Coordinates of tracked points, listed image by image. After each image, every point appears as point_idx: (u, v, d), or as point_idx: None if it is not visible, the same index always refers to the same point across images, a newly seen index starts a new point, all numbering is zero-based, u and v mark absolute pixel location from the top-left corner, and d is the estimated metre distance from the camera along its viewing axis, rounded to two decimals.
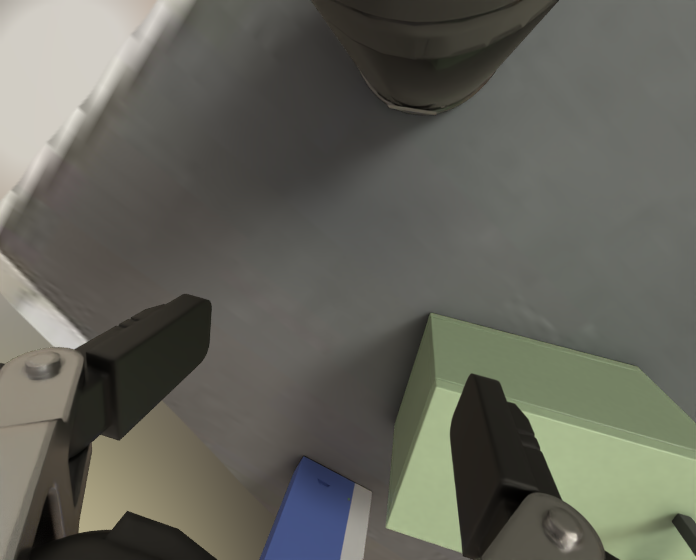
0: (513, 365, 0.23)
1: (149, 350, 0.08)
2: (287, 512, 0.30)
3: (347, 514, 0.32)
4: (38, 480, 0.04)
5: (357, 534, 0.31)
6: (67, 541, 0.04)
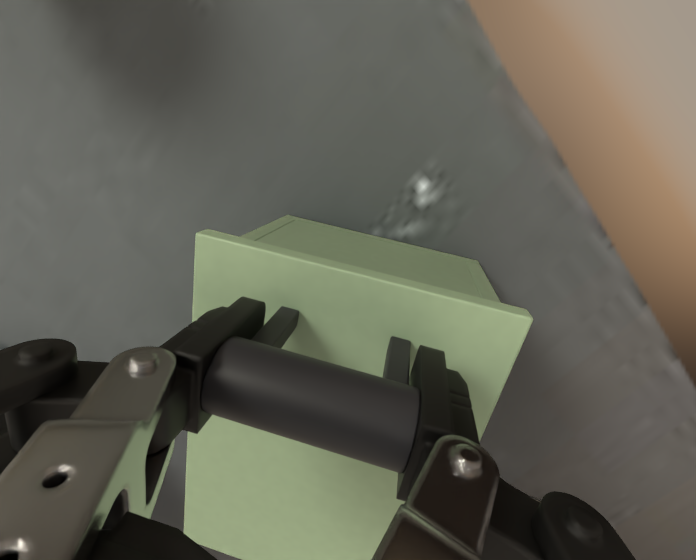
0: None
1: None
2: None
3: None
4: (108, 483, 0.04)
5: None
6: (122, 552, 0.04)
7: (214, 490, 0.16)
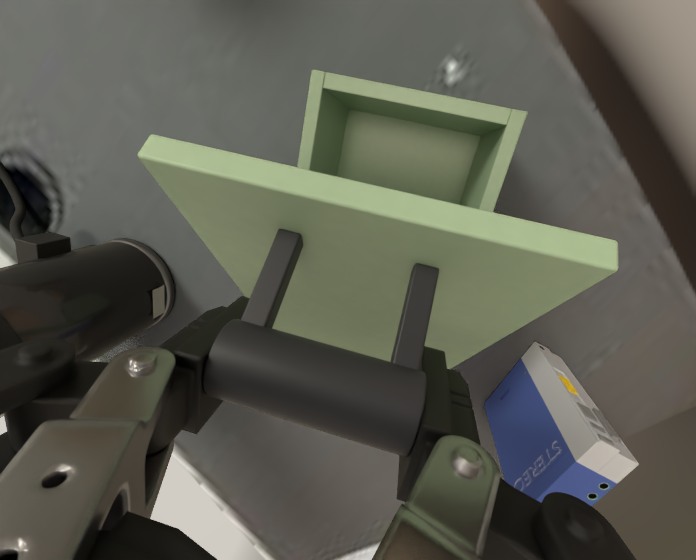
0: None
1: None
2: (499, 447, 0.28)
3: (531, 381, 0.28)
4: (107, 484, 0.04)
5: (547, 378, 0.27)
6: (122, 552, 0.04)
7: (279, 315, 0.20)
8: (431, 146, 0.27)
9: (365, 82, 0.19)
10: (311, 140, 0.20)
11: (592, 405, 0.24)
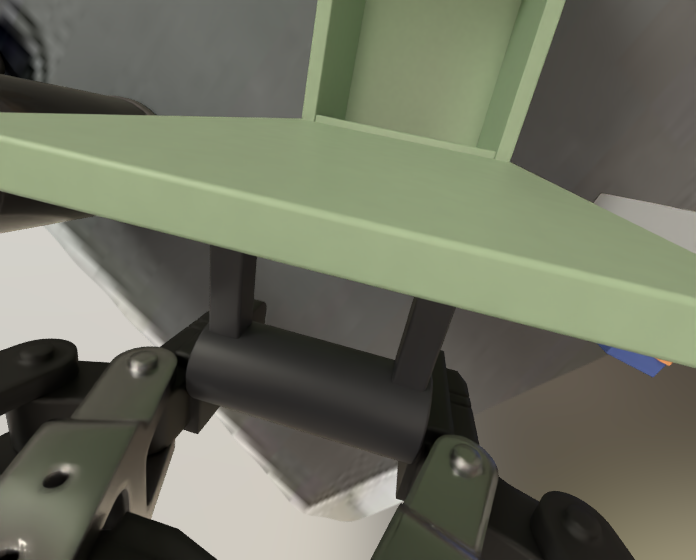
0: None
1: None
2: None
3: None
4: (108, 483, 0.04)
5: (628, 212, 0.22)
6: (123, 553, 0.04)
7: None
8: None
9: None
10: None
11: None
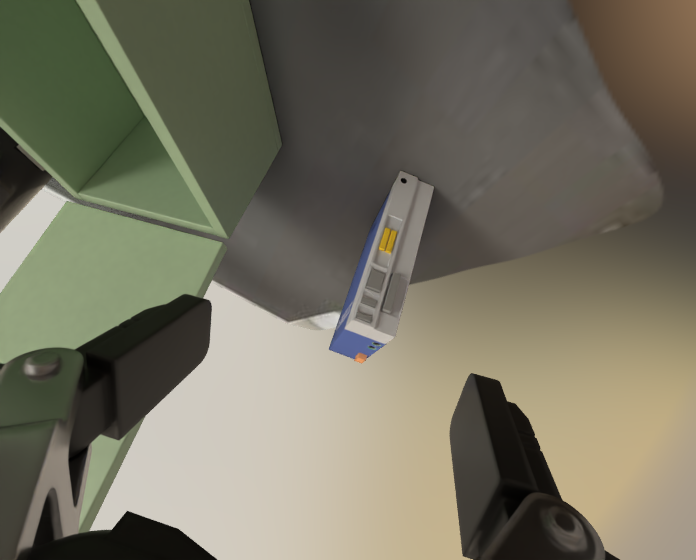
0: None
1: (149, 350, 0.08)
2: (352, 282, 0.29)
3: (379, 224, 0.25)
4: (38, 480, 0.04)
5: (379, 228, 0.23)
6: (67, 541, 0.04)
7: None
8: None
9: None
10: None
11: (407, 263, 0.22)
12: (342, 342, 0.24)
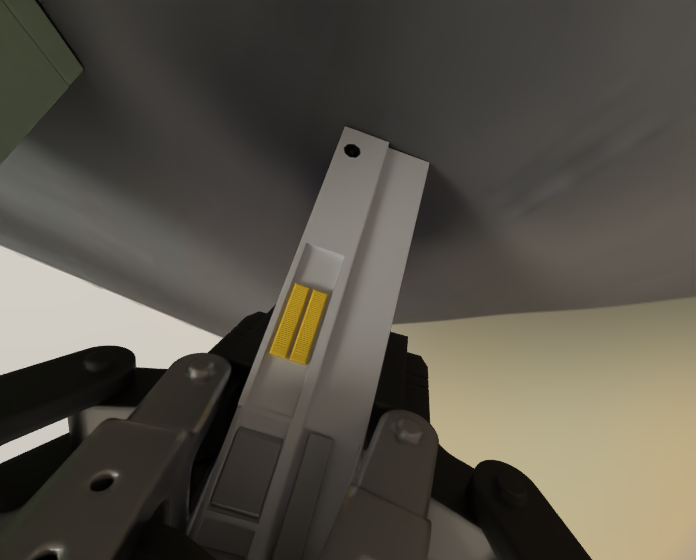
0: None
1: None
2: None
3: None
4: (149, 495, 0.04)
5: None
6: None
7: None
8: None
9: None
10: None
11: (356, 389, 0.08)
12: None
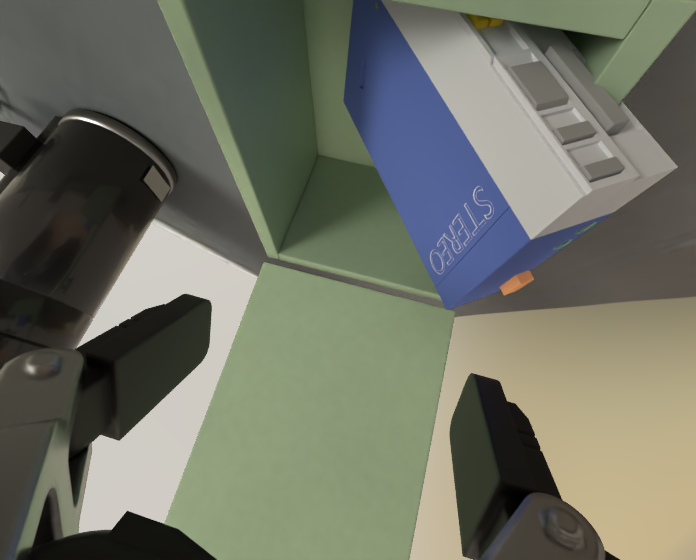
0: None
1: (149, 350, 0.08)
2: (390, 188, 0.15)
3: (395, 28, 0.11)
4: (38, 480, 0.04)
5: (422, 10, 0.10)
6: (67, 541, 0.04)
7: None
8: None
9: None
10: (206, 76, 0.11)
11: None
12: (492, 278, 0.11)
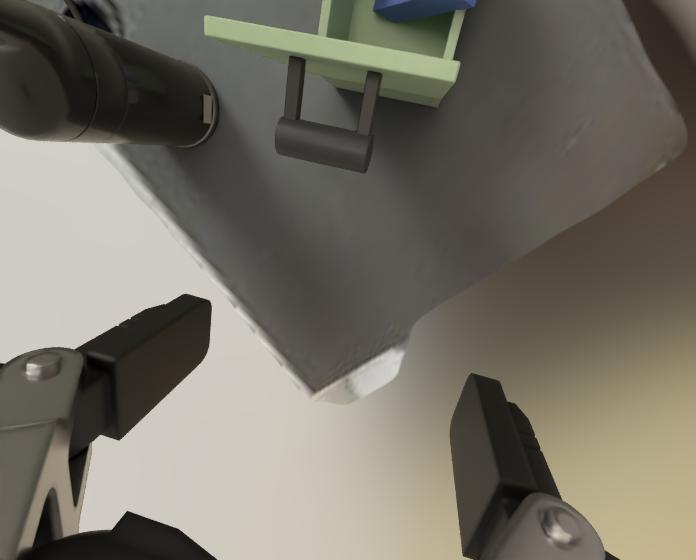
0: None
1: (149, 350, 0.08)
2: None
3: None
4: (39, 480, 0.04)
5: None
6: (67, 541, 0.04)
7: (312, 71, 0.27)
8: None
9: None
10: None
11: None
12: None
